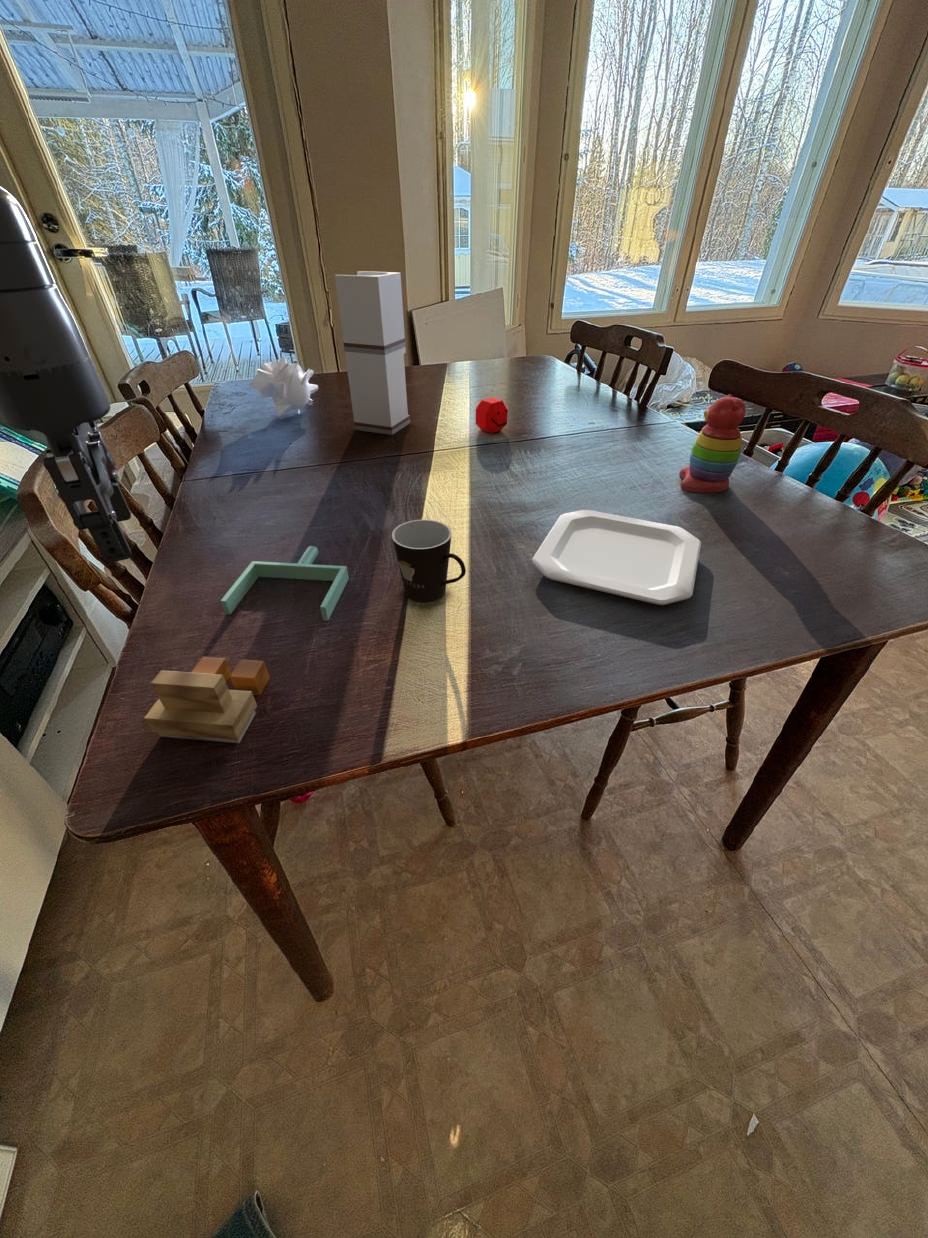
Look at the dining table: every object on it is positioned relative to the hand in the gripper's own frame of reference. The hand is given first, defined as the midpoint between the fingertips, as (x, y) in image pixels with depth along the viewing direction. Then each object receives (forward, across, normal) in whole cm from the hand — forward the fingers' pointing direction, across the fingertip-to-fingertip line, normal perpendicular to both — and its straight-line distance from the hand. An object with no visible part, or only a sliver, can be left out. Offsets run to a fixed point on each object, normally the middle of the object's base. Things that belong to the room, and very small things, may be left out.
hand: (120, 538), depth 50 cm
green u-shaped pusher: (+21, -17, +17) cm, 32 cm away
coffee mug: (+22, -5, +34) cm, 41 cm away
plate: (+21, +1, +66) cm, 70 cm away
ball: (+21, -67, +80) cm, 107 cm away
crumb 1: (+21, 0, +3) cm, 21 cm away
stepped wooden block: (+21, +7, +1) cm, 22 cm away
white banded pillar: (+21, -83, +55) cm, 102 cm away
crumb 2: (+21, +3, +7) cm, 23 cm away
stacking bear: (+21, -15, +104) cm, 107 cm away
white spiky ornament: (+21, -108, +35) cm, 116 cm away
